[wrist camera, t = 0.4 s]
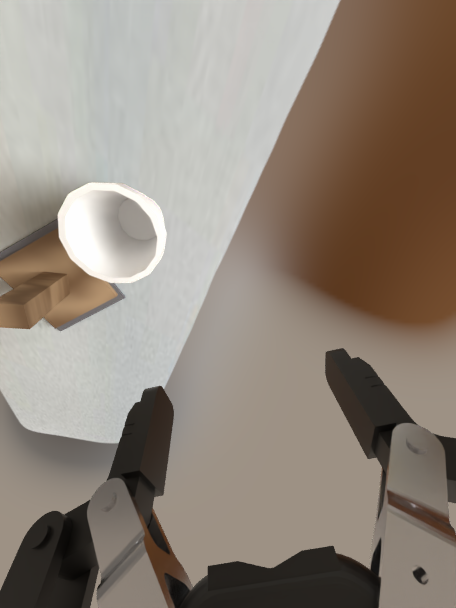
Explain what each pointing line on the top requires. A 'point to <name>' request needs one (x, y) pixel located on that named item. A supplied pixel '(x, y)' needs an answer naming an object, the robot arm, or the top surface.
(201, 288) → the top surface
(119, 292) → the mat
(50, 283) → the lid
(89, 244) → the foam cup
